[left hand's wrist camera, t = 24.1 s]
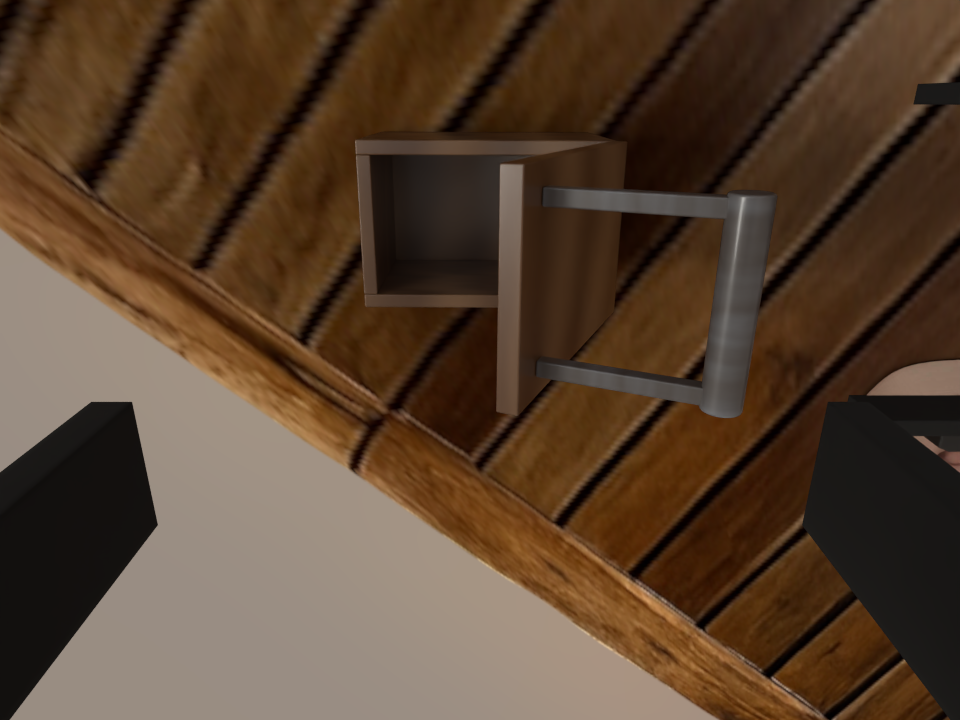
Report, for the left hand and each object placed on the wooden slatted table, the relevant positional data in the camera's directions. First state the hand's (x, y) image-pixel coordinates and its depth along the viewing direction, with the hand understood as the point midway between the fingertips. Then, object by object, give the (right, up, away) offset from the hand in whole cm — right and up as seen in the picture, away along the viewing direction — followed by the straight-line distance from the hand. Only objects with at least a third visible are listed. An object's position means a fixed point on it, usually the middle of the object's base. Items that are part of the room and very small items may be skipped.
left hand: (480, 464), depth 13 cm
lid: (+4, +7, +17) cm, 19 cm away
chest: (0, +13, +33) cm, 35 cm away
